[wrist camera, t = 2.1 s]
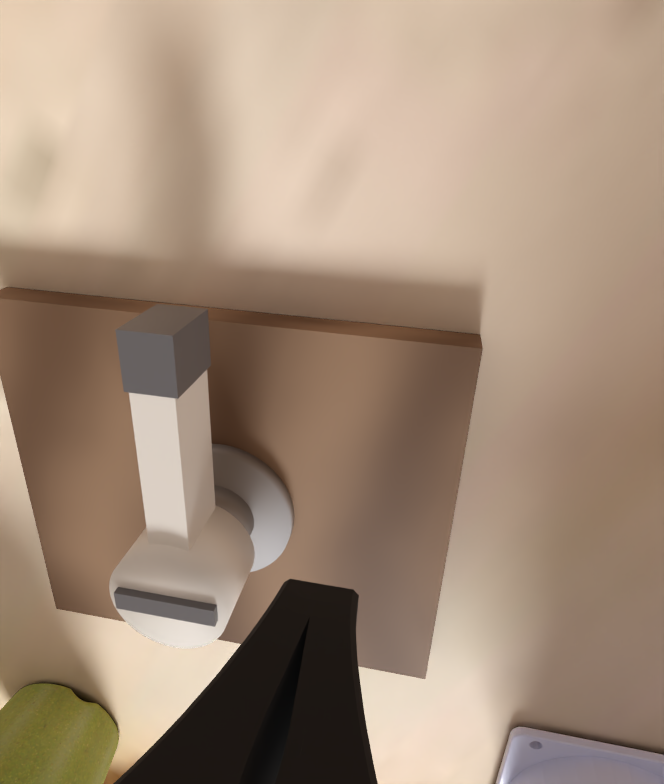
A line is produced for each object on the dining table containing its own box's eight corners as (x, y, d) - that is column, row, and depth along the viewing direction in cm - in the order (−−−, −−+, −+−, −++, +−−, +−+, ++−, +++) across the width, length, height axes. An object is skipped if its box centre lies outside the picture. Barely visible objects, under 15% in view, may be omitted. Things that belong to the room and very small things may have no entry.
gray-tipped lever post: (249, 312, 14) (208, 350, 12) (255, 595, 19) (227, 665, 16) (119, 299, 15) (55, 333, 12) (155, 577, 19) (113, 642, 17)
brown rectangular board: (480, 334, 17) (486, 373, 14) (426, 653, 23) (423, 722, 20) (7, 287, 19) (-64, 312, 16) (72, 588, 25) (29, 642, 23)
